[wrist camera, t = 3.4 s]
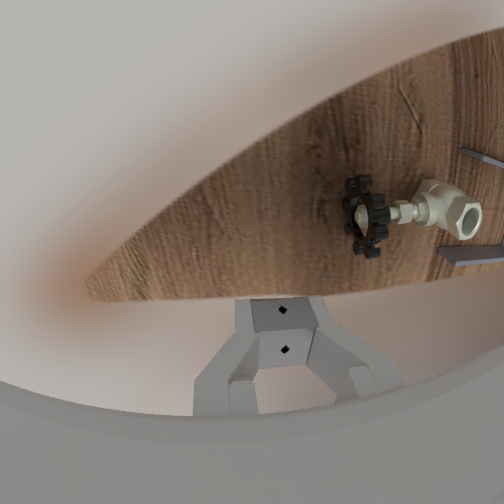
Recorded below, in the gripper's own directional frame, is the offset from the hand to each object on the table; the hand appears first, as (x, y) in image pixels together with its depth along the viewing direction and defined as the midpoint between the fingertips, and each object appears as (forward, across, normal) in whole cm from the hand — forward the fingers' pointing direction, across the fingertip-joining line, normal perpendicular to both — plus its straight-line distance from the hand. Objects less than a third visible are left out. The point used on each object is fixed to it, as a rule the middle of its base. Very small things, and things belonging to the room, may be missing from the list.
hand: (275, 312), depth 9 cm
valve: (+14, -14, 0) cm, 20 cm away
